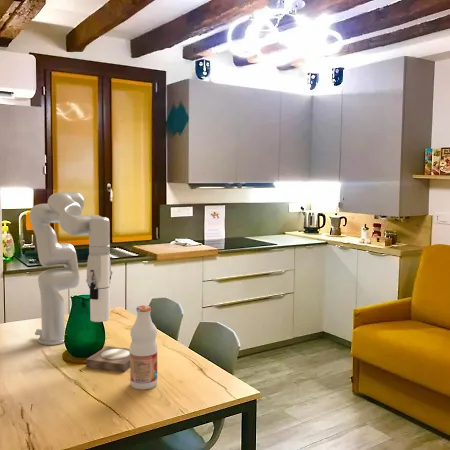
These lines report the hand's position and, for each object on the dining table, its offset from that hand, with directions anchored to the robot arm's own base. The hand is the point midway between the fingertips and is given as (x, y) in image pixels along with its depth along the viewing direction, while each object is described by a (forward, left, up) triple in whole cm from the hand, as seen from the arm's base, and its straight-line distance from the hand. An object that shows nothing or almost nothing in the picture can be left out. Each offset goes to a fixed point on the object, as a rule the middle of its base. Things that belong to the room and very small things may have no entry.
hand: (99, 296), depth 199 cm
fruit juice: (+23, -10, -28) cm, 37 cm away
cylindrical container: (0, 0, -9) cm, 9 cm away
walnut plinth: (+3, +6, -27) cm, 28 cm away
